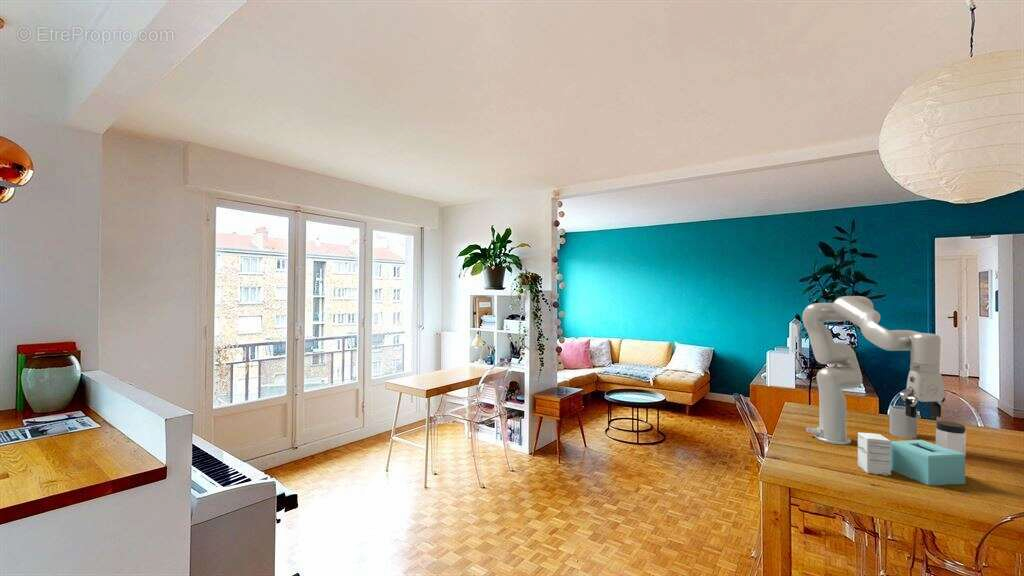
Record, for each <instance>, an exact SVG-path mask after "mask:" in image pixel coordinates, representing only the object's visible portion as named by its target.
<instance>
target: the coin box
mask: <svg viewBox="0 0 1024 576" xmlns="http://www.w3.org/2000/svg"><path fill="white" fill-rule="evenodd" d="M890 441H891V471H893V470H894V471H893V472H895V471H896V473H897V472H899V473H898V474H900V473H901V474H900V475H902V474H904V475H906V476H905V477H907V476H908V477H907V478H909V477H911V478H910V479H912V478H913V479H912V480H914V479H915V480H914V481H916V480H918V481H917V482H919V481H920V482H919V483H921V482H922V483H921V484H923V483H925V484H924V485H926V484H927V485H926V486H928V485H931V486H948V484H950V485H964V484H966V456H965V454H963V453H960V452H957V451H954V450H951V449H948V448H945V447H942V446H939V445H936V443H932V442H929V441H926V440H924V439H917V440H916V439H915V440H914V439H913V440H912V439H910V440H890ZM904 475H903V476H904ZM946 484H947V485H946Z"/></svg>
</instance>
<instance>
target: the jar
mask: <svg viewBox="0 0 1024 576" xmlns="http://www.w3.org/2000/svg"><path fill="white" fill-rule="evenodd" d="M935 444H936V445H939V446H942V447H945V448H948V449H951V450H954V451H957V452H960V453H963V454H965V457H966V456H967V432H966V426H965V425H964V424H961V423H957V422H954V421H947V420H946V421H945V420H937V421H936V428H935Z"/></svg>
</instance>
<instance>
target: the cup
mask: <svg viewBox="0 0 1024 576" xmlns="http://www.w3.org/2000/svg"><path fill="white" fill-rule="evenodd" d="M905 413H906V406H902V405H890V406H889V434H891V436H895V437H897V438H898V437H899V438H903V439H917V438H918V410H917V409H916V418H912V417H909V416H906V415H905Z"/></svg>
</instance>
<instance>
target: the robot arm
mask: <svg viewBox="0 0 1024 576" xmlns="http://www.w3.org/2000/svg"><path fill="white" fill-rule="evenodd" d="M801 319H802V322H803V324H802V325H804V329H805V330H806V332H807V335H808V338H809V341H810V345H811V349H812V353H813V356H814V358H815V361H816V362H818V363H819V364H822V365H836V366H829V367H823V368H821V369H819V370H818V372H817V373H816V377H815V378H816V382H817V387H818V397H819V398H818V401H819V402H818V403H819V404H818V405H819V406H818V410H819V413H818V414H819V415H818V416H819V417H818V419H819V421H818V422H819V425H817V426H816V427H813V428H812V427H806V430H805V431H806V432H807V433H811V434H814V437H815V438H816V439H817V440H819V441H821V442H824V443H828V444H834V445H850V444H851V443H852V440H851V439H850V437H847V400H846V399H847V398H846V396H845V394H844V393H843V391H842V390H852V389H854V390H855V389H857V388H859V387H860V386H861V385H862V384H863V375H862V371H861V368H860V364H859V362H858V359H857V355H856V352H855V351H854V349H853V347H851V346H850V345H849V344H847V343H845V342H835V340H834V339H833V335H832V332H831V330H830V328H829V327H828V326H827V325H826V324H824V323H827V322H828V323H833V322H836V323H841V322H845V321H848V322H851V323H853V324H854V325H855V326H857V327H859V328H860V332H861V334H862V336H863V337H864V338H865V339H866V340H867V341H869V342H870V343H871V344H873V345H875V346H877V347H878V348H880V349H882V350H885V351H889V352H892V351H893V352H895V351H903V352H904V351H905V352H906V351H907V352H908V351H910V364H909V365H910V366H909V371H908V375H907V380H906V388H905V390H903V391H902V392H900V394H899V395H900V398H901V400H902V402H903V404H904V405H905V407H906V413H905V415H906V416H909V417H912V418H916V410H917V406H916V405H917V404H918V402H921V403H930V404H929V415H930V416H934V417H937V418H940V417H942V406H944V402H945V401H946V398H947V395H948V393H947V391H944V381H943V376H942V373H941V372H940V368H941V367H940V366H941V365H940V364H941V363H940V361H941V341H942V340H941V337H940V336H939V335H938V334H935V333H927V332H920V331H915V330H912V329H911V330H909V329H892V330H891V329H888V328H885V327H884V326H882V325H880V324H879V322H880V320H881V314H880V313H879V311H877V310H875V309H874V303H873V302H872V300H871V299H869V298H868V297H866V296H861V295H846V296H845V295H844V296H840V297H838V298H836V299H835V300H834V301H833V302H817V303H816V302H815V303H811V304H809V305H807V306H806V307H805V309H804V310H803V312H802V318H801Z"/></svg>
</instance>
